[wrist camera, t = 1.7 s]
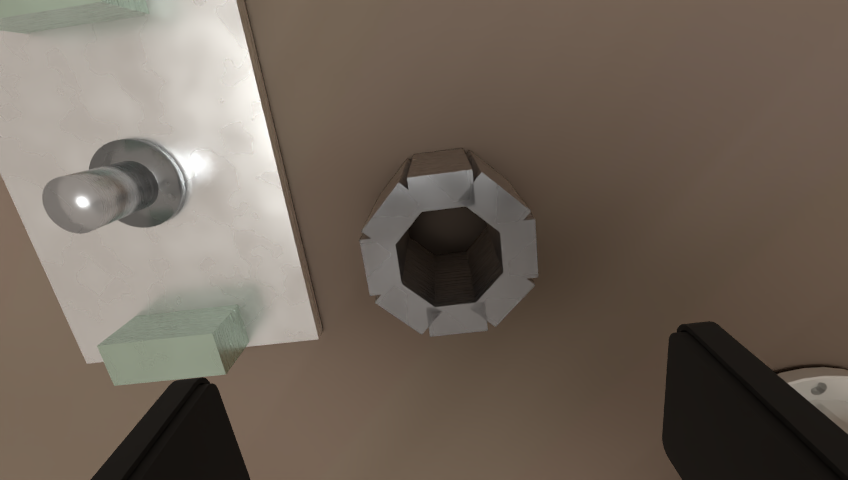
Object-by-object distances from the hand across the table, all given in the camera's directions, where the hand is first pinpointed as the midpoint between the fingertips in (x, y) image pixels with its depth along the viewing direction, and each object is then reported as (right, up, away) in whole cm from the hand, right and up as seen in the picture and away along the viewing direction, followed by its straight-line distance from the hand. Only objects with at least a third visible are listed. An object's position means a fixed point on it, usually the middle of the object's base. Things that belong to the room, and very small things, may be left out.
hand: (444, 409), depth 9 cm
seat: (-15, +7, +14) cm, 21 cm away
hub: (+1, +5, +14) cm, 15 cm away
